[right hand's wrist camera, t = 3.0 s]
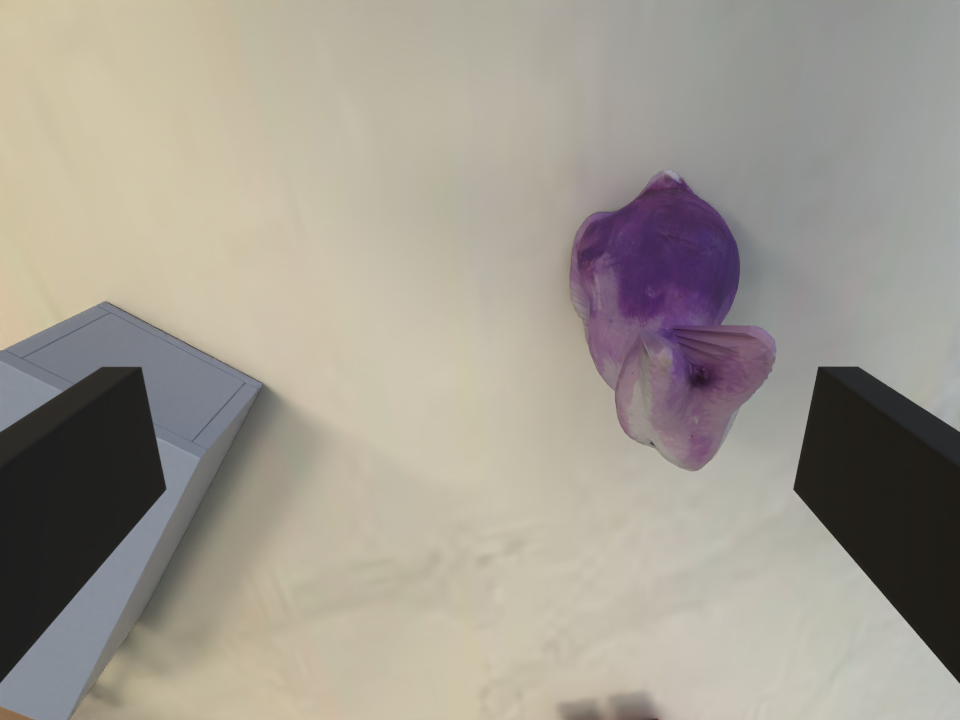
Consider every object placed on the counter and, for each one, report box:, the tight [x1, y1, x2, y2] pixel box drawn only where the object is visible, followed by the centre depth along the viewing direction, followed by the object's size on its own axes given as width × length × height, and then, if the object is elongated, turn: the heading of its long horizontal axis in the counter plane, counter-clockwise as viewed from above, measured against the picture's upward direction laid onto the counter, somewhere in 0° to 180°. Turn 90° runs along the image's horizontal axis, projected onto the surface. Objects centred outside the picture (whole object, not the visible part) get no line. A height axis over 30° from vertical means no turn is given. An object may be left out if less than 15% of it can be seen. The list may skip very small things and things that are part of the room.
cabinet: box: [0, 302, 262, 720], centre depth 36 cm, size 20×10×9 cm, turn 149°
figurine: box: [570, 170, 776, 471], centre depth 28 cm, size 9×10×15 cm
